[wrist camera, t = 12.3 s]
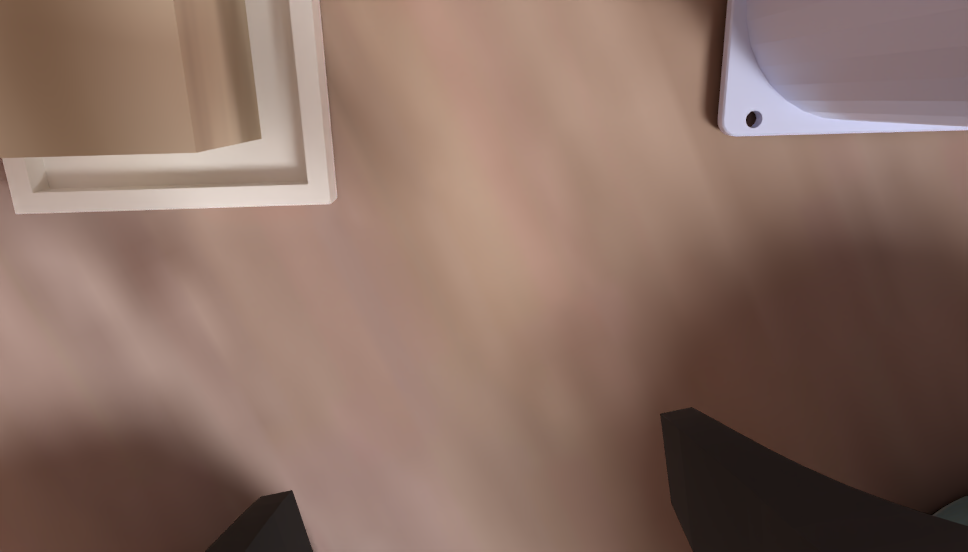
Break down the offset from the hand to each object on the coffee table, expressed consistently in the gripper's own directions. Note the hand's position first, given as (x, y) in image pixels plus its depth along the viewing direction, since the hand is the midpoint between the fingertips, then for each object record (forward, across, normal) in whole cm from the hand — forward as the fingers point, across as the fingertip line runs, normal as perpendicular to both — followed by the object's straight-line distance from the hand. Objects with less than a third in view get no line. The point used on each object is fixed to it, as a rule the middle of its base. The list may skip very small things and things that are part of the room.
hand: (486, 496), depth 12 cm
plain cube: (+9, +7, -10) cm, 15 cm away
